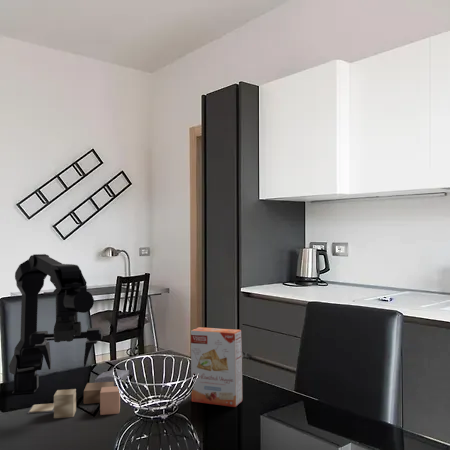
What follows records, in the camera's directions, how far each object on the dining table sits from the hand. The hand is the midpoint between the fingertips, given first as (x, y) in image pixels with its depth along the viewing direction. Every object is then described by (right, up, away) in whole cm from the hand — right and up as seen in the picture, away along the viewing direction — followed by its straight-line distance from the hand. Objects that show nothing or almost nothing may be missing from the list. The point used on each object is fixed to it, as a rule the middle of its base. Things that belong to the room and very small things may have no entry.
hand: (67, 367), depth 132 cm
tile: (-8, -13, +4) cm, 16 cm away
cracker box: (+41, -12, +7) cm, 43 cm away
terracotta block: (+12, -12, +1) cm, 17 cm away
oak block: (0, -12, -1) cm, 13 cm away
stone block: (+5, -14, +28) cm, 32 cm away
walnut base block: (+6, -13, +12) cm, 19 cm away
